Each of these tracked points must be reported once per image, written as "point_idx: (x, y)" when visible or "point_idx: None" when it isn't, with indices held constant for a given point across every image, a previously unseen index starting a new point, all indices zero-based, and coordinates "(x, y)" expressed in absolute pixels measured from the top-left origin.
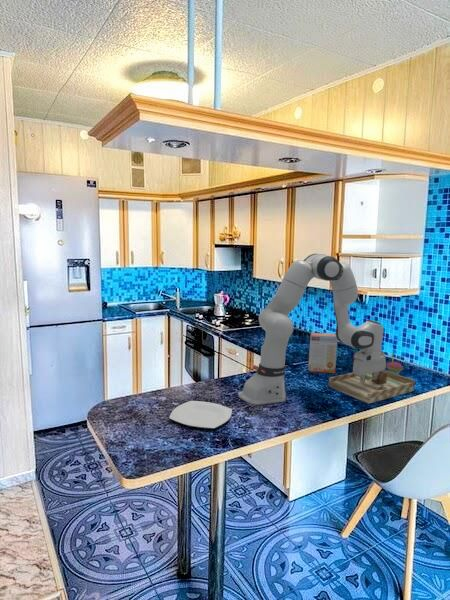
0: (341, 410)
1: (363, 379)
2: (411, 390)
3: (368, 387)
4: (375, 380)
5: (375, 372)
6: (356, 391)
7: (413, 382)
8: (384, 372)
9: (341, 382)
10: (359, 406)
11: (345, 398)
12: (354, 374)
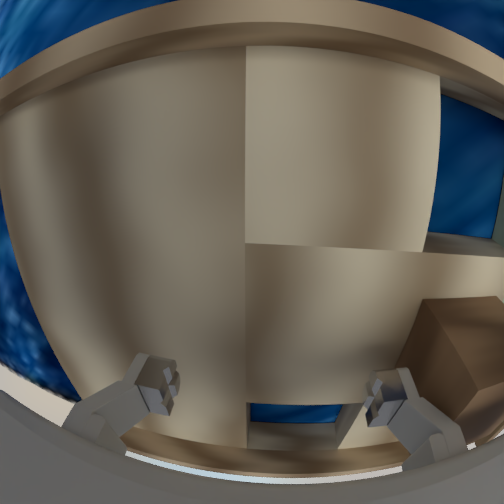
0: (4, 348)
1: (134, 414)
2: None
3: (212, 378)
4: (414, 357)
5: (415, 455)
6: (69, 355)
7: (475, 442)
8: (500, 420)
9: (47, 157)
10: (60, 380)
11: (31, 308)
12: (404, 51)
